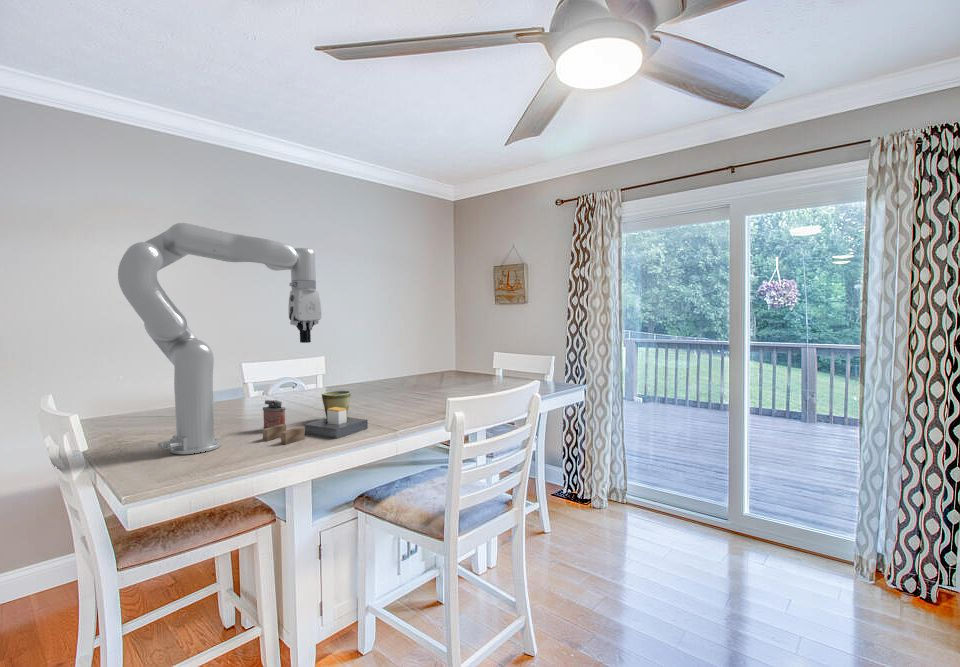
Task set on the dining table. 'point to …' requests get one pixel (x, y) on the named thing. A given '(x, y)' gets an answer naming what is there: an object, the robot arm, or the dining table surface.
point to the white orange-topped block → (336, 415)
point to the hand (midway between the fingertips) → (305, 342)
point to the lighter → (273, 413)
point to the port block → (336, 428)
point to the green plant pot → (336, 400)
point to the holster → (283, 434)
